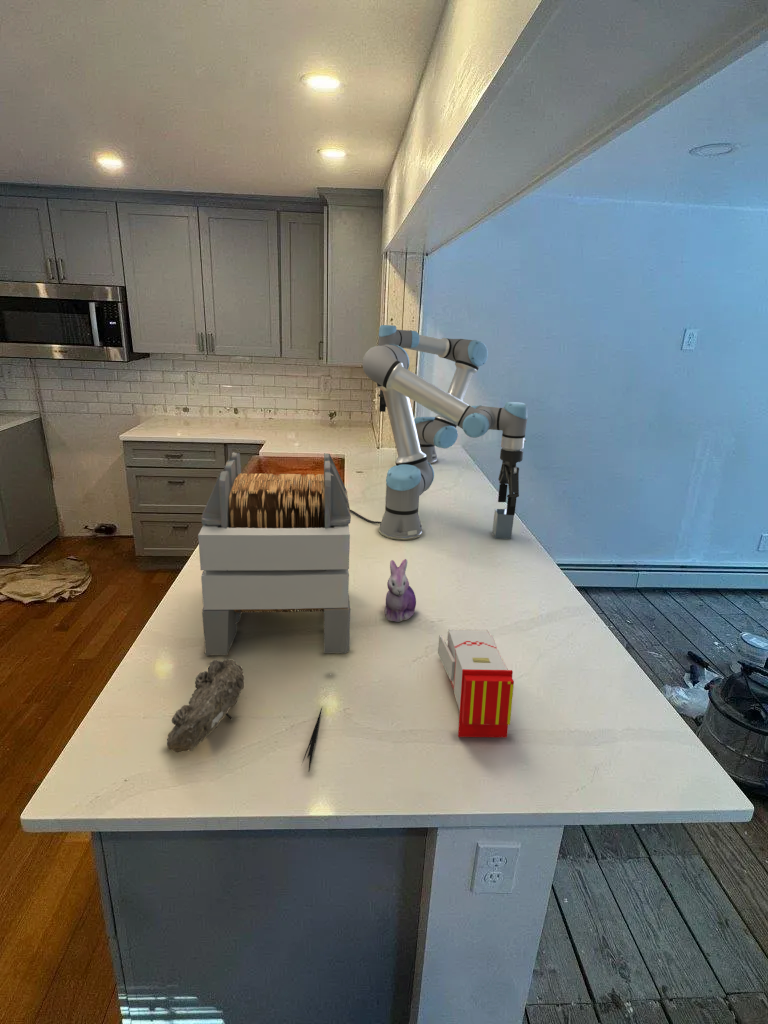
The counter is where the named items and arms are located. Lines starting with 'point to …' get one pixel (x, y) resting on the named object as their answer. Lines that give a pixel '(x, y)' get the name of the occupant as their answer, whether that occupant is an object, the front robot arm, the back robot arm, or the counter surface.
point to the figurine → (399, 594)
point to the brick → (502, 524)
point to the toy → (478, 682)
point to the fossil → (206, 705)
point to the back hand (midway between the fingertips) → (383, 409)
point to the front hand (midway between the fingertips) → (505, 508)
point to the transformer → (275, 551)
